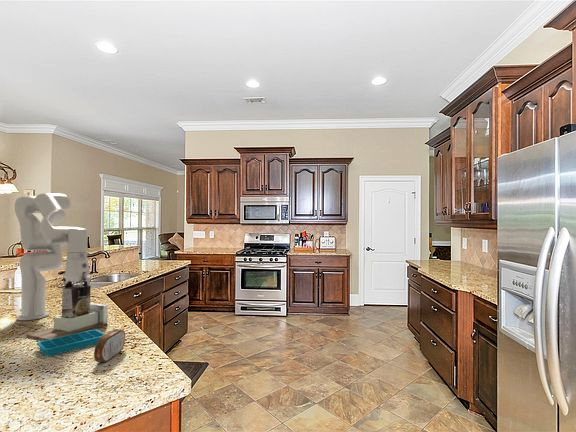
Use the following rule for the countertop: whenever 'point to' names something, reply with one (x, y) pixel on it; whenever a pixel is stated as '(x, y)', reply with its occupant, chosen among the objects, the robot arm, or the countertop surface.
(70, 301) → the coffee box
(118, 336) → the tin
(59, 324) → the pale green open box
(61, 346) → the ice cube tray
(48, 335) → the brown flat board
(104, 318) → the stop wall
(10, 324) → the countertop surface
